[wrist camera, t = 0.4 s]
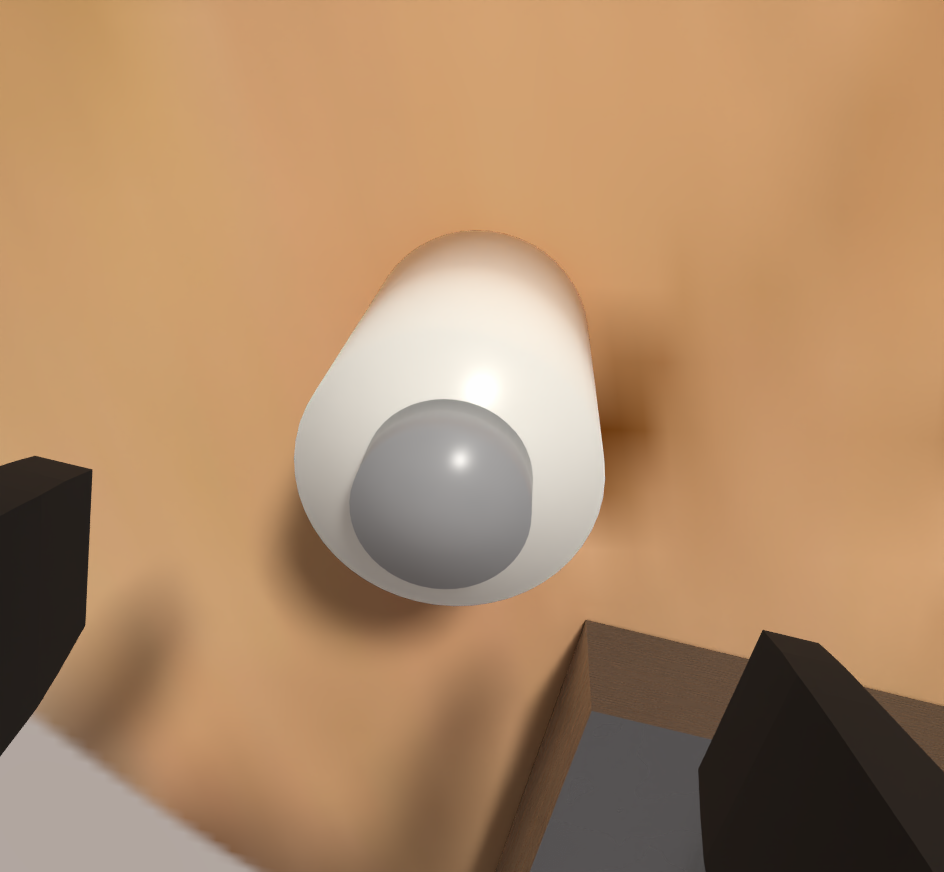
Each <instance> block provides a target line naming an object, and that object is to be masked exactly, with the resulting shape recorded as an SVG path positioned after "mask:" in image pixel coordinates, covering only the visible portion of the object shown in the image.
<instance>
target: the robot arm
mask: <svg viewBox="0 0 944 872" xmlns="http://www.w3.org/2000/svg"><path fill="white" fill-rule="evenodd" d="M91 490H92V469H88V468H84V467H79V466H75V465H71V464H67V463H63V462H59V461H54V460H50V459H46V458H42V457H38V456H33V457H29V458H25V459H22V460H18V461H15V462H11V463H8V464H5V465H2V466H0V756H1V755H2V753H3V752H4V751H5V749H6V748H7V747H8V745H9V744H10V743H11V741H12V740H13V739H14V737H15V736H16V735H17V734H18V732H19V731H20V730H21V728H22V727H23V726H24V725H25V723H26V722H27V720H28V719H29V718H30V716H31V715H32V714H33V712H34V711H35V710H36V708H37V707H38V705H39V704H40V702H41V701H42V699H43V697H44V696H45V694H46V692H47V691H48V689H49V687H50V686H51V684H52V682H53V681H54V679H55V677H56V676H57V674H58V672H59V671H60V669H61V667H62V666H63V664H64V662H65V660H66V659H67V657H68V655H69V653H70V651H71V650H72V648H73V646H74V644H75V643H76V641H77V639H78V637H79V636H80V634H81V632H82V630H83V629H84V627H85V620H86V598H87V577H88V555H89V533H90V511H91ZM698 778H699V799H700V820H701V832H702V845H703V858H704V866H705V871H706V872H944V771H943V770H942V769H941V768H940V767H939V766H938V765H937V764H936V763H935V762H934V761H933V760H932V759H931V758H930V757H929V756H928V755H927V754H926V753H925V751H924V750H923V749H922V748H921V747H920V746H919V745H918V744H917V743H916V742H915V741H914V740H913V739H912V738H911V737H910V736H909V734H908V733H907V732H906V731H905V730H904V729H903V728H902V727H901V726H900V725H899V724H898V723H897V722H896V721H895V720H894V719H893V717H892V716H891V715H890V714H889V713H888V712H887V711H886V710H885V709H884V708H883V707H882V706H881V705H880V704H879V703H878V702H877V700H876V699H875V698H874V697H873V696H872V695H871V694H870V693H869V692H868V691H867V690H866V689H865V688H864V687H863V686H862V685H861V684H860V683H859V682H858V681H857V680H856V679H855V678H854V676H853V675H852V674H851V673H850V672H849V671H848V670H847V669H846V668H845V667H844V666H843V665H842V664H841V663H840V662H838V661H837V660H836V659H835V658H834V657H833V656H832V655H831V654H830V653H829V652H828V651H827V650H826V649H825V648H823V647H822V646H821V645H820V644H819V643H815V642H811V641H807V640H803V639H799V638H794V637H790V636H786V635H782V634H778V633H773V632H769V631H765V630H763V631H762V633H761V635H760V637H759V639H758V641H757V644H756V646H755V648H754V650H753V652H752V654H751V657H750V659H749V661H748V663H747V665H746V667H745V669H744V672H743V674H742V676H741V678H740V680H739V682H738V684H737V687H736V689H735V691H734V693H733V695H732V697H731V700H730V702H729V704H728V706H727V708H726V710H725V712H724V715H723V717H722V719H721V721H720V723H719V725H718V728H717V730H716V732H715V734H714V736H713V738H712V740H711V743H710V745H709V747H708V749H707V751H706V753H705V756H704V758H703V760H702V762H701V764H700V766H699V768H698Z"/></svg>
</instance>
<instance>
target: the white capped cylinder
mask: <svg viewBox="0 0 944 872" xmlns="http://www.w3.org/2000/svg"><path fill="white" fill-rule="evenodd" d="M294 464H295V478H296V483H297V488H298V493H299V496H300V499H301V502H302V504H303V507H304V510H305V512H306V514H307V516H308V518H309V520H310V522H311V524H312V526H313V528H314V529H315V531H316V532H317V534H318V535H319V537H320V538H321V540H322V541H323V542H324V544H325V545H326V546H327V547H328V548H329V549H330V550H331V552H332V553H333V554H334V555H335V556H336V557H337V558H338V559H339V560H340V561H341V562H343V563H344V564H345V565H346V566H347V567H348V568H349V569H351V570H352V571H353V572H355V573H356V574H358V575H359V576H361V577H362V578H363V579H365V580H367V581H368V582H370V583H372V584H374V585H376V586H377V587H379V588H381V589H383V590H386V591H388V592H391V593H393V594H395V595H398V596H401V597H404V598H407V599H411V600H414V601H418V602H423V603H429V604H434V605H446V606H472V605H480V604H486V603H492V602H496V601H500V600H504V599H508V598H511V597H513V596H516V595H519V594H521V593H524V592H526V591H528V590H530V589H532V588H534V587H536V586H537V585H539V584H541V583H543V582H544V581H546V580H547V579H549V578H550V577H551V576H553V575H554V574H556V573H557V572H558V571H559V570H560V569H561V568H562V567H564V566H565V565H566V564H567V563H568V562H569V561H570V560H571V559H572V558H573V556H574V555H575V554H576V553H577V552H578V550H579V549H580V548H581V547H582V545H583V544H584V542H585V540H586V539H587V537H588V536H589V534H590V532H591V531H592V528H593V526H594V524H595V521H596V519H597V517H598V514H599V510H600V506H601V503H602V499H603V493H604V484H605V466H604V454H603V446H602V438H601V430H600V422H599V414H598V405H597V397H596V389H595V381H594V373H593V365H592V357H591V349H590V341H589V333H588V325H587V319H586V314H585V310H584V307H583V304H582V301H581V298H580V296H579V294H578V292H577V290H576V288H575V286H574V284H573V283H572V281H571V280H570V278H569V277H568V275H567V274H566V273H565V271H564V270H563V269H562V268H561V267H560V266H559V265H558V264H557V262H555V261H554V260H553V259H552V258H551V257H550V256H548V255H547V254H546V253H545V252H543V251H542V250H540V249H539V248H537V247H535V246H534V245H532V244H530V243H528V242H526V241H524V240H522V239H520V238H517V237H514V236H511V235H507V234H504V233H498V232H493V231H481V230H472V231H460V232H456V233H451V234H446V235H443V236H441V237H438V238H435V239H432V240H430V241H428V242H427V243H425V244H423V245H421V246H419V247H418V248H416V249H415V250H413V251H412V252H411V253H409V254H408V255H407V256H406V257H405V258H404V259H402V260H401V261H400V262H399V263H398V264H397V265H396V267H395V268H394V269H393V270H392V272H391V273H390V274H389V275H388V277H387V279H386V280H385V282H384V283H383V285H382V286H381V288H380V290H379V291H378V293H377V294H376V296H375V298H374V299H373V301H372V302H371V304H370V305H369V307H368V309H367V310H366V312H365V313H364V315H363V316H362V318H361V320H360V321H359V323H358V324H357V326H356V328H355V329H354V331H353V332H352V334H351V335H350V337H349V339H348V340H347V342H346V343H345V345H344V347H343V348H342V350H341V351H340V353H339V354H338V356H337V358H336V359H335V361H334V362H333V364H332V366H331V367H330V369H329V370H328V372H327V373H326V375H325V377H324V378H323V380H322V381H321V383H320V385H319V386H318V388H317V389H316V391H315V393H314V394H313V396H312V398H311V399H310V401H309V403H308V404H307V406H306V409H305V411H304V414H303V416H302V419H301V421H300V425H299V429H298V433H297V437H296V443H295V454H294Z"/></svg>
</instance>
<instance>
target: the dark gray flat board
mask: <svg viewBox="0 0 944 872" xmlns="http://www.w3.org/2000/svg"><path fill="white" fill-rule="evenodd" d="M748 661H749V659H745V658H741V657H737V656H733V655H729V654H725V653H720V652H716V651H712V650H708V649H704V648H700V647H696V646H691V645H687V644H683V643H679V642H675V641H671V640H667V639H662V638H658V637H654V636H650V635H646V634H642V633H638V632H634V631H629V630H625V629H621V628H617V627H613V626H609V625H605V624H600V623H596V622H592V621H588V620H586V622H585V624H584V627H583V630H582V633H581V635H580V638H579V641H578V644H577V647H576V649H575V652H574V655H573V658H572V660H571V663H570V666H569V669H568V672H567V674H566V677H565V680H564V683H563V685H562V688H561V691H560V694H559V697H558V699H557V702H556V705H555V708H554V710H553V713H552V716H551V719H550V722H549V724H548V727H547V730H546V733H545V735H544V738H543V741H542V744H541V747H540V749H539V752H538V755H537V758H536V760H535V763H534V766H533V769H532V772H531V774H530V777H529V780H528V783H527V785H526V788H525V791H524V794H523V797H522V799H521V802H520V805H519V808H518V810H517V813H516V816H515V819H514V822H513V824H512V827H511V830H510V833H509V835H508V838H507V841H506V844H505V847H504V849H503V852H502V855H501V858H500V860H499V863H498V866H497V869H496V872H706V871H705V866H704V858H703V845H702V832H701V820H700V799H699V778H698V768H699V766H700V764H701V762H702V760H703V758H704V756H705V753H706V751H707V749H708V747H709V745H710V743H711V740H712V738H713V736H714V734H715V732H716V730H717V728H718V725H719V723H720V721H721V719H722V717H723V715H724V712H725V710H726V708H727V706H728V704H729V702H730V700H731V697H732V695H733V693H734V691H735V689H736V687H737V684H738V682H739V680H740V678H741V676H742V674H743V672H744V669H745V667H746V665H747V663H748ZM864 688H865V687H864ZM865 689H866V690H867V691H868V692H869V693H870V694H871V695H872V696H873V697H874V698H875V699H876V700H877V702H878V703H879V704H880V705H881V706H882V707H883V708H884V709H885V710H886V711H887V712H888V713H889V714H890V715H891V716H892V717H893V719H894V720H895V721H896V722H897V723H898V724H899V725H900V726H901V727H902V728H903V729H904V730H905V731H906V732H907V733H908V734H909V736H910V737H911V738H912V739H913V740H914V741H915V742H916V743H917V744H918V745H919V746H920V747H921V748H922V749H923V750H924V751H925V753H926V754H927V755H928V756H929V757H930V758H931V759H932V760H933V761H934V762H935V763H936V764H937V765H938V766H939V767H940V768H941V769H942V770H943V771H944V706H940V705H936V704H931V703H927V702H923V701H919V700H915V699H911V698H907V697H902V696H898V695H894V694H890V693H886V692H882V691H878V690H873V689H869V688H865Z"/></svg>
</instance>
